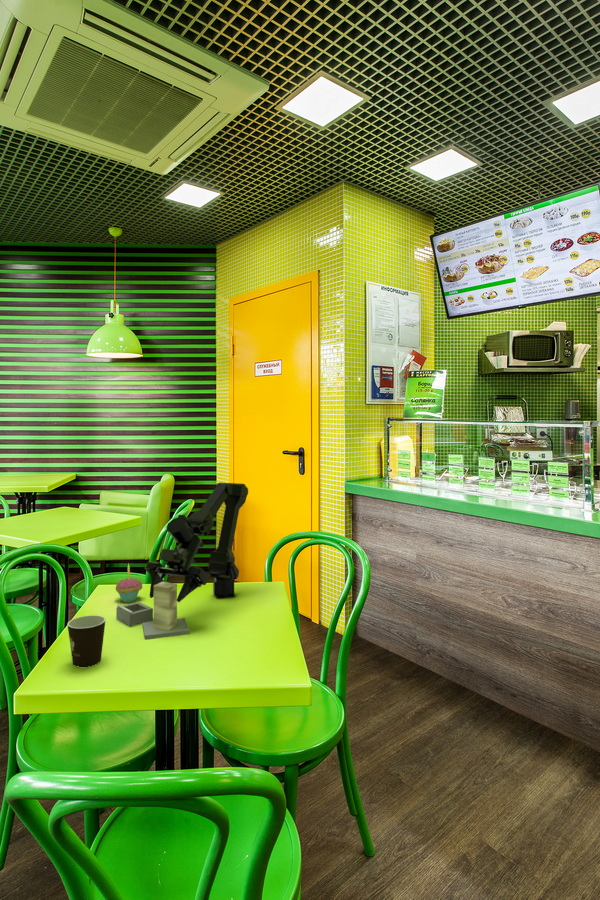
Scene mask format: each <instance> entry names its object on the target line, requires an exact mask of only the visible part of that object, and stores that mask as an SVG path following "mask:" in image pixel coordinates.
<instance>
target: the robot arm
mask: <svg viewBox="0 0 600 900" xmlns="http://www.w3.org/2000/svg"><path fill="white" fill-rule="evenodd" d="M248 494H249V488H248V486H247V485H246V484H245V483H241V482H240V483H239V482H238V483H237V482H217V483H216V484H215V487H214V489H213V491H212V492H211V494H210V495H209V497H208V498H207V499H206V500H205V502H204V504H203V505H202V507H201V508H199V509H198V510H195V511H194V512H193V513H191V514H190V515H189V517H188V518H187V516H186V515H185V514H178V515H177V517H175V518H172V520H170V521H168V522H167V525H166V530H167V532H168V533H169V534H170V536H171V537H172V539H174V541H175V543H178V546H177V548H173V549H171V548H170V549H169V548H162V549H161V552H160V557H159V560H160V561H165V563H164V564H165V566H168V567H164V566H163V564H162V562H160V561H159V562H158V561H154V560H153V561H148V562H147V563H146V565H145V567H144V570H145V571H146V572H147V573H148V574H149V576H150V588H149V598H150V599H154V585H156V584H158V583H161V582H165V580H164V578H166V576H174V577H175V576H176V577H183V578H184V582H183V585H182V586H181V588H180V591H179V593H178V594H177V603H180V602H181V601H183V600H184V599H185V598H186V597H188V595H189V594H191V593H192V592H194V591H195V590H197V589H198V588H201V587H202V586H206V585H207V583H208V580H209V577H210V578H213V579H214V580H213V581H212V593H213V596H214V597H215V598H216V599H225V598H234V597H236V594H235V580H237V579H238V578H239V574H240V571H239V570H240V569H239V568H238V566H237V565H236V563H235V562H236V561H235V560H236V558H235V555H234V552H233V546H234V542H235V541H234V540H235V535H236V529H237V523H238V518H239V514H240V513H239V512H240V509H241V508H242V507H243V505H244V504H245V503H246V501H247V497H248ZM223 504H224V507H225V508H224V513H223V519H222V523H221V527H220V528H221V529H220V534H219V539H218V545H217V548H215V550H214V551H213V550H212V551H210V554H209V555H210V556H209V560H208V565H207V566H208V567H207V568H208V571H209V572H208V573H209V576H208V573H206V572H205V570H204V569H203V567H200V566H194V565H193V566H192V564H195V562H196V559H195V557H196V555H197V553H198V551H199V548H203V547H204V542H203V539H202V538H200V537H199V536H208V535H210V532H211V530H212V529H213V527H214V518H215V516H216V514H217V513H218V511H219V510H220V509H221V507H222V506H223Z"/></svg>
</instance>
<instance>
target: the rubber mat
mask: <svg viewBox="0 0 600 900" xmlns="http://www.w3.org/2000/svg"><path fill="white" fill-rule="evenodd" d="M142 629H143V636H144V637H143V638H144V640H148V639H149V640H150V639H156V638H158V637H159V638H166V637H172V636H173V637H175V636H181V635H189V634H190V628H189V625H188V623H187V620H186V617H179V618H178V617H177V625H176V626H175V627H173V628H171V629H170V630H165V629H159V628H154V620H152V621H148V622H143V623H142Z"/></svg>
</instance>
